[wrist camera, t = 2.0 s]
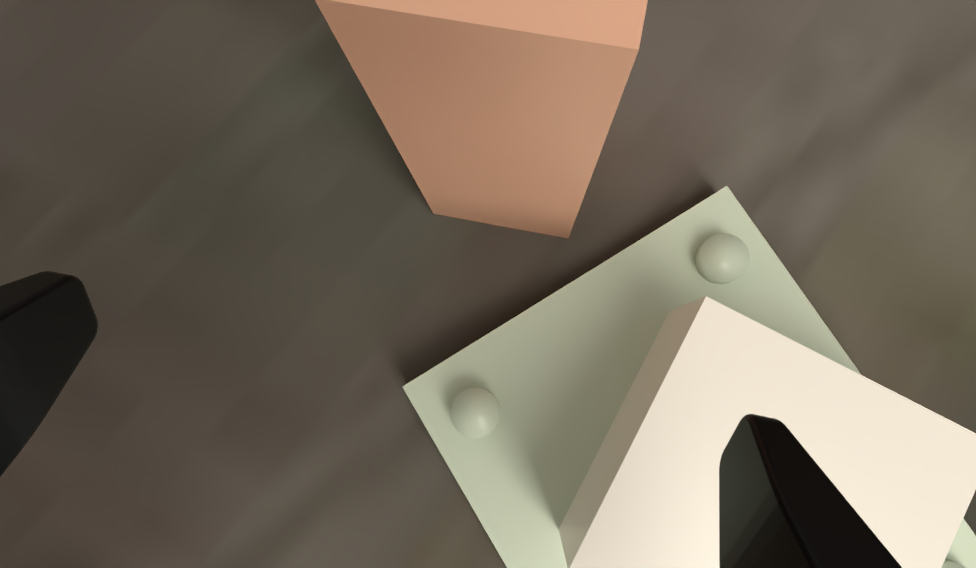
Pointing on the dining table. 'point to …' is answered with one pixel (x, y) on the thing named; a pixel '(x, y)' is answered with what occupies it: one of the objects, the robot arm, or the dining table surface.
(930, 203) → the dining table surface
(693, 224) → the tower base
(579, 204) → the column brick
